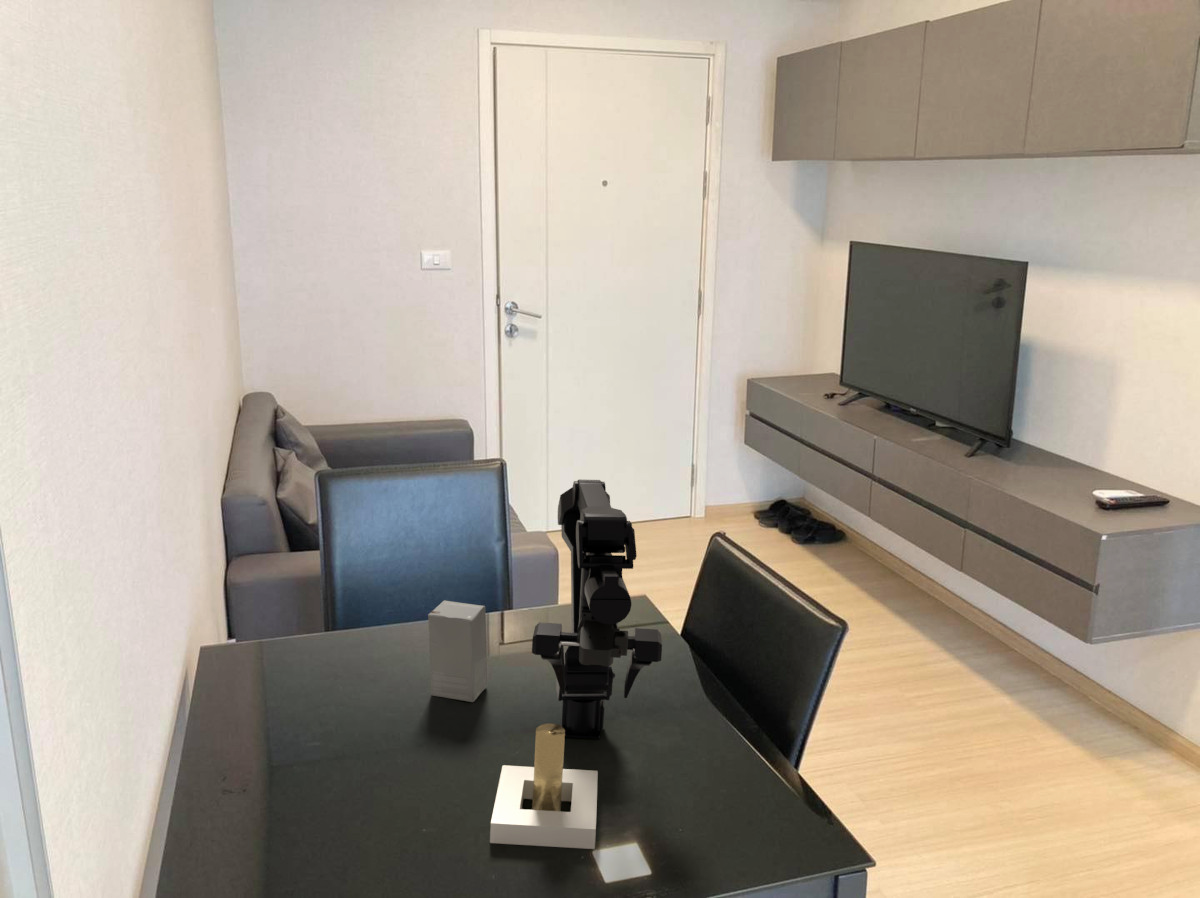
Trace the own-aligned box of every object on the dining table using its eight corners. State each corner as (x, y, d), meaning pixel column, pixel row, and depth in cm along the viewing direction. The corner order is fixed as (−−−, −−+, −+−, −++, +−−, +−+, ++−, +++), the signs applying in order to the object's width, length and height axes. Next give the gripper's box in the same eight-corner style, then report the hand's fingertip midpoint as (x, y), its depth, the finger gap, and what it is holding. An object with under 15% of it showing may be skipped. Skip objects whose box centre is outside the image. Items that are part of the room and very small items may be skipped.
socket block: (490, 842, 130) (490, 823, 129) (501, 783, 143) (502, 765, 143) (594, 849, 130) (595, 829, 129) (596, 789, 143) (597, 770, 143)
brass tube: (530, 822, 135) (534, 737, 132) (533, 805, 139) (537, 722, 136) (559, 823, 135) (564, 739, 132) (561, 806, 139) (565, 724, 136)
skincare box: (487, 687, 172) (490, 604, 168) (471, 706, 165) (473, 619, 161) (443, 679, 174) (445, 596, 170) (426, 697, 167) (427, 611, 164)
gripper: (530, 614, 133) (526, 718, 136) (666, 622, 133) (659, 726, 136) (537, 584, 144) (533, 681, 147) (663, 592, 144) (656, 689, 147)
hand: (594, 695), depth 144 cm, fingers open, 9 cm apart
